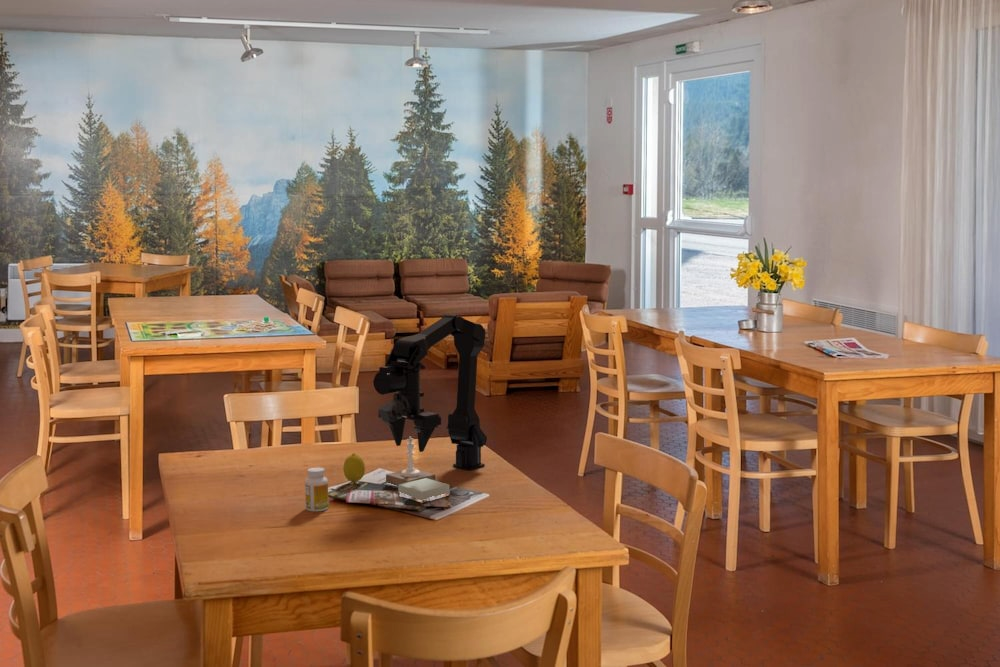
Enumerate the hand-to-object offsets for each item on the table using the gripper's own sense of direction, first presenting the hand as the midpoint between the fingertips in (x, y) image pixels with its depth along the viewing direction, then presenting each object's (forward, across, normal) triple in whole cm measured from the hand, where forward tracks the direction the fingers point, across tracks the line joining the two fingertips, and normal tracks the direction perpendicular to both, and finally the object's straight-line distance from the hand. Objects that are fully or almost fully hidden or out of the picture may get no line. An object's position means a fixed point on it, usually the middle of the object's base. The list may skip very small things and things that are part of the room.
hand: (409, 448), depth 284 cm
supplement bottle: (+10, 0, -29) cm, 31 cm away
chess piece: (+7, 0, 0) cm, 7 cm away
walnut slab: (+10, 0, 0) cm, 10 cm away
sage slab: (+10, +10, -4) cm, 14 cm away
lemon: (+10, -12, -9) cm, 18 cm away
